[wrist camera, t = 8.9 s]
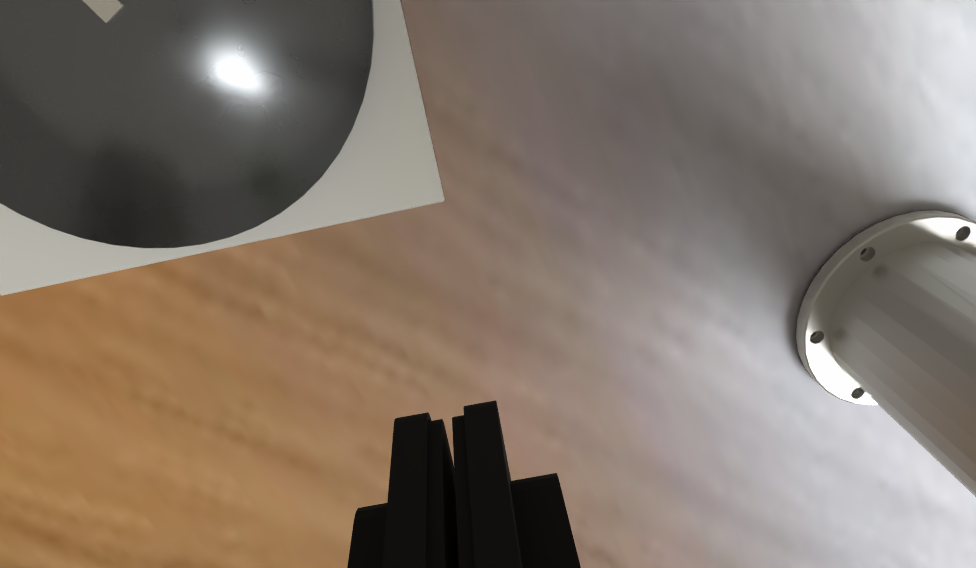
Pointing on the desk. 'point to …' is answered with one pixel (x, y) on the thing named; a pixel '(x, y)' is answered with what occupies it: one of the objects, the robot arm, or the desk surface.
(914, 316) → the robot arm
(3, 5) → the dial
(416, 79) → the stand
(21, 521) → the desk surface
